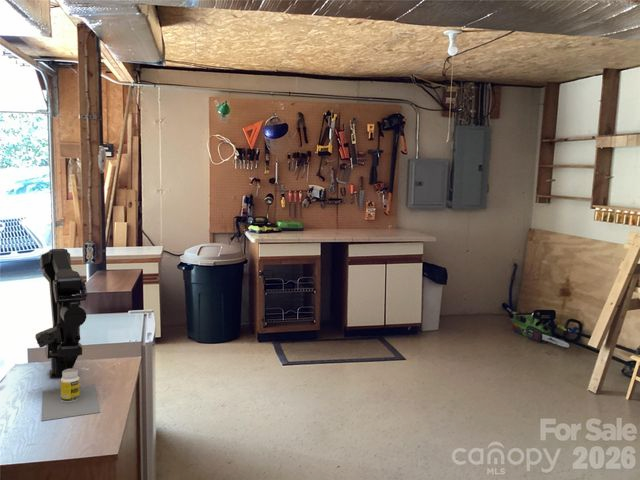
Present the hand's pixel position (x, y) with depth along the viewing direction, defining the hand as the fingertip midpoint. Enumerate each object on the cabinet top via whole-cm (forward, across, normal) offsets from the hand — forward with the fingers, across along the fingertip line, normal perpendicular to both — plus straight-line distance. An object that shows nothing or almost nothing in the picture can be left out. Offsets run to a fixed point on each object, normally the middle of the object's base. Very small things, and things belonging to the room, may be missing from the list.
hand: (69, 370), depth 152 cm
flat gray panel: (+6, +8, 0) cm, 10 cm away
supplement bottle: (+6, +7, 0) cm, 10 cm away
